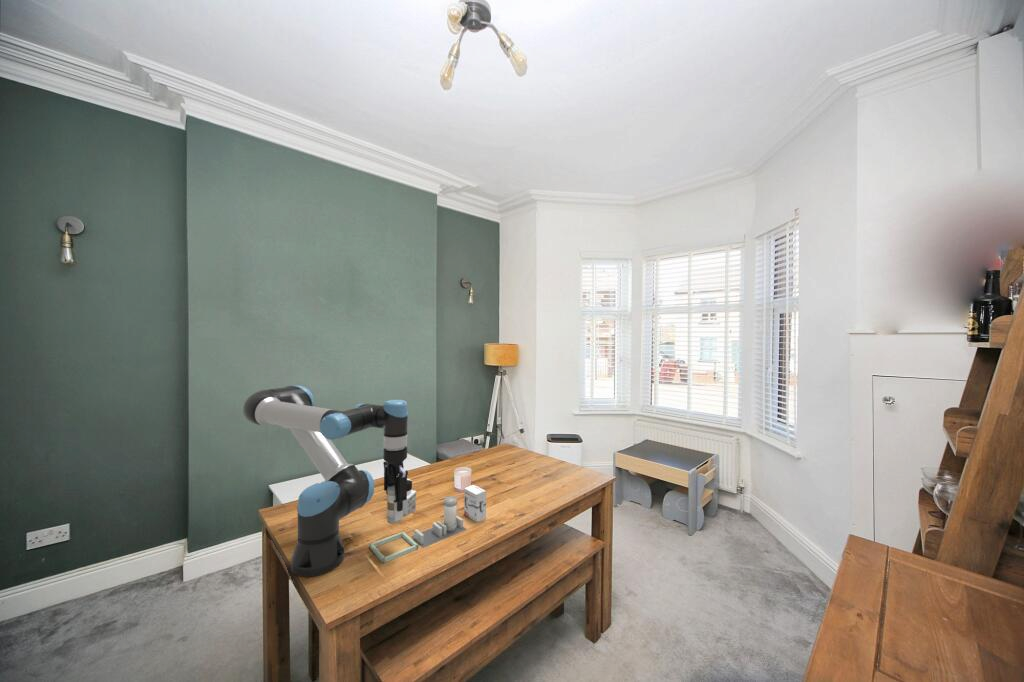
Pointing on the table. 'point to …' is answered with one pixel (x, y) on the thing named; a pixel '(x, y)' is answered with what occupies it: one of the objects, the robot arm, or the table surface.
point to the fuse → (450, 513)
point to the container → (409, 499)
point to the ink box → (475, 503)
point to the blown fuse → (391, 505)
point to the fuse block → (436, 533)
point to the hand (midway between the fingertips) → (394, 516)
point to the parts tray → (395, 555)
